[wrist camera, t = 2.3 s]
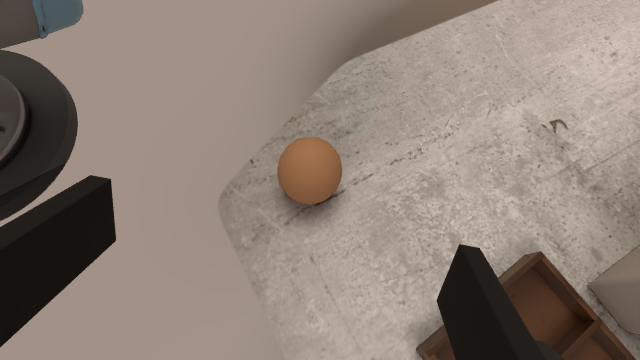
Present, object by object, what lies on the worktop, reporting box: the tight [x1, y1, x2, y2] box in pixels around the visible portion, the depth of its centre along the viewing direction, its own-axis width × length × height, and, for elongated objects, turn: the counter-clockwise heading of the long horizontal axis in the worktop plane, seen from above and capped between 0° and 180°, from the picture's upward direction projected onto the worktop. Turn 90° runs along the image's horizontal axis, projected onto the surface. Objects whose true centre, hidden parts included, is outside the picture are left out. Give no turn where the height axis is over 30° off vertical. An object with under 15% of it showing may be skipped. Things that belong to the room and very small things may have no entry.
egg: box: [278, 137, 342, 204], centre depth 35 cm, size 6×6×8 cm
